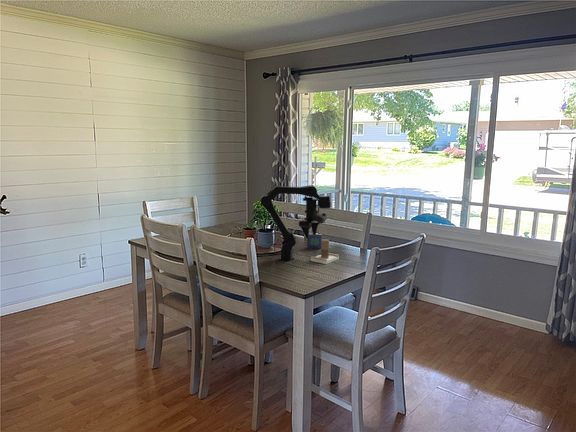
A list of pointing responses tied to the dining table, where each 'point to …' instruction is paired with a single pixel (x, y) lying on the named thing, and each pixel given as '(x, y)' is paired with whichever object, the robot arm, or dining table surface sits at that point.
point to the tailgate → (325, 260)
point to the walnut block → (325, 248)
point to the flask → (314, 241)
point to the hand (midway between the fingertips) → (310, 236)
